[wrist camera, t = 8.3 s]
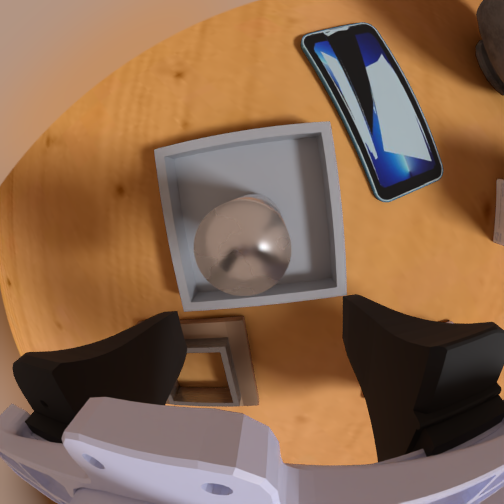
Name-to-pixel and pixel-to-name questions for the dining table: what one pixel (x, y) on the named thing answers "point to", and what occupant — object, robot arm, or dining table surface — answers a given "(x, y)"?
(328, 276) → the tray
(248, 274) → the metal peg
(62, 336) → the dining table surface
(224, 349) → the collar stand
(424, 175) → the smartphone
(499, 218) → the light bulb box
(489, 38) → the pitcher
